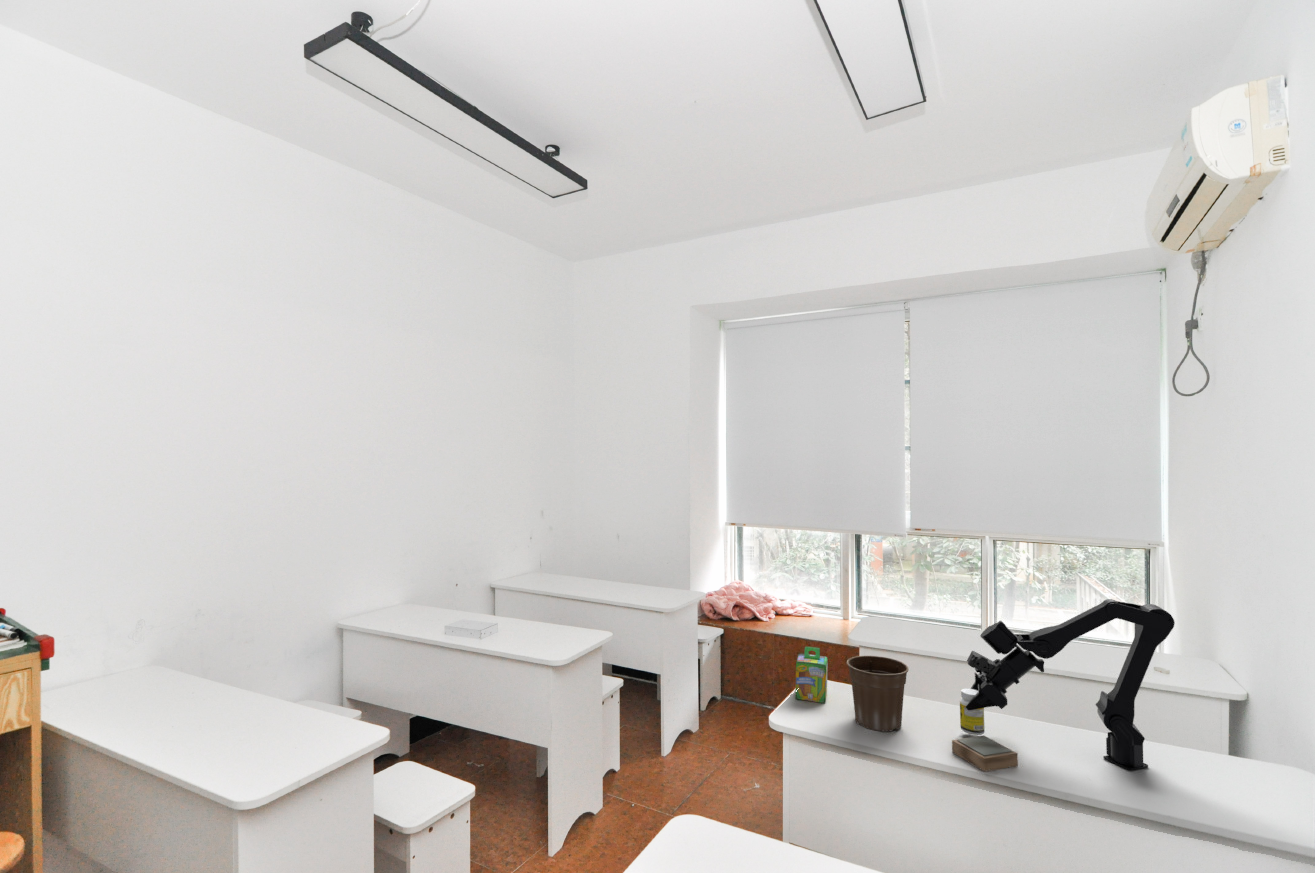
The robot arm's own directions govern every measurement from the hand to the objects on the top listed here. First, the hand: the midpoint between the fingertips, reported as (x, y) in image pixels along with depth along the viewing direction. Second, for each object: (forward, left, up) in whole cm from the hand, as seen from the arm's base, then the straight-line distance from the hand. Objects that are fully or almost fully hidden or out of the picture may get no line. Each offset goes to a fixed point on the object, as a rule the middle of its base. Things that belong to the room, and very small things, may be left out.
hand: (965, 704), depth 162 cm
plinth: (-12, +6, -8) cm, 16 cm away
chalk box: (+35, +25, -8) cm, 44 cm away
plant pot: (+13, +18, -8) cm, 24 cm away
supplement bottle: (-1, -1, -7) cm, 7 cm away
